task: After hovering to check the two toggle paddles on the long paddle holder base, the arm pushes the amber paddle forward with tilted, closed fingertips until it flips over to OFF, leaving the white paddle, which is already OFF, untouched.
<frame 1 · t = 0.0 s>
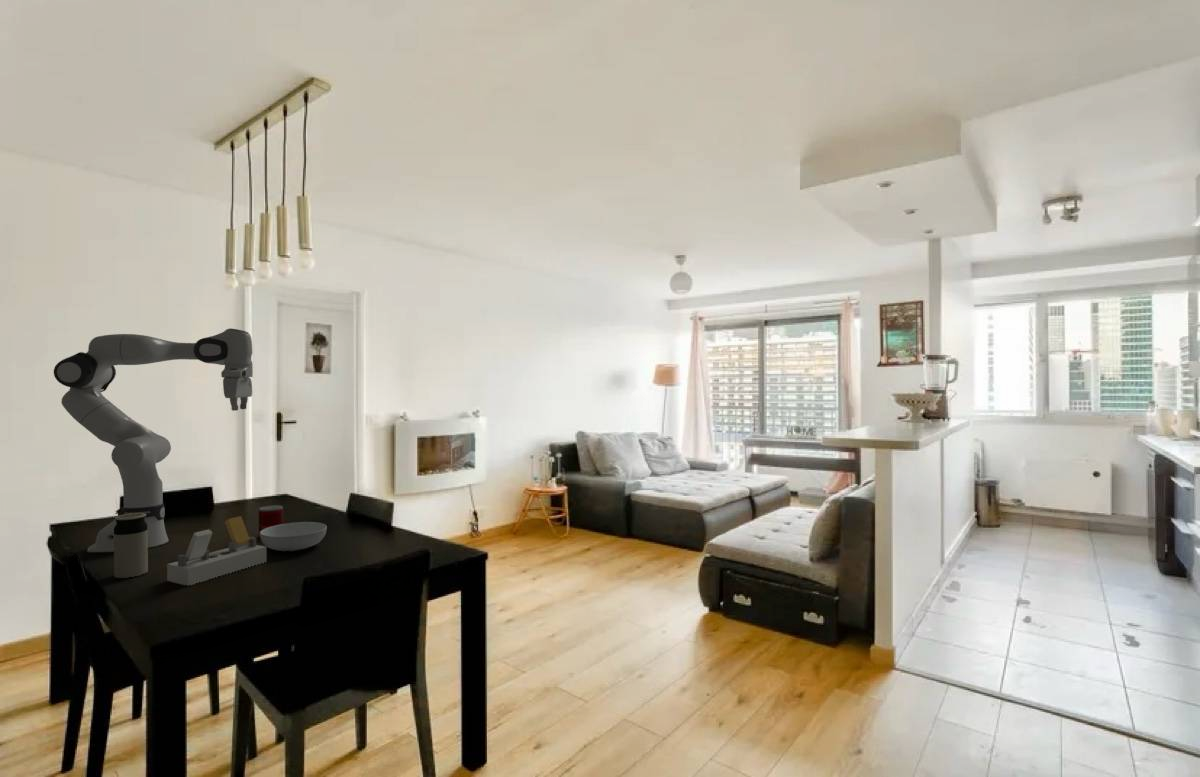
hand: (239, 409, 217), 48 cm above the table, tool pointing down, fingers open, 8 cm apart
serving bowl: (294, 548, 206), on the table
travel mug: (131, 575, 177), on the table
canned food: (271, 536, 221), on the table
long paddle holder base: (219, 571, 180), on the table
white paddle: (198, 546, 173), point 10 cm above the table, hinge at 30.0°
amber paddle: (238, 532, 188), point 10 cm above the table, hinge at -30.0°
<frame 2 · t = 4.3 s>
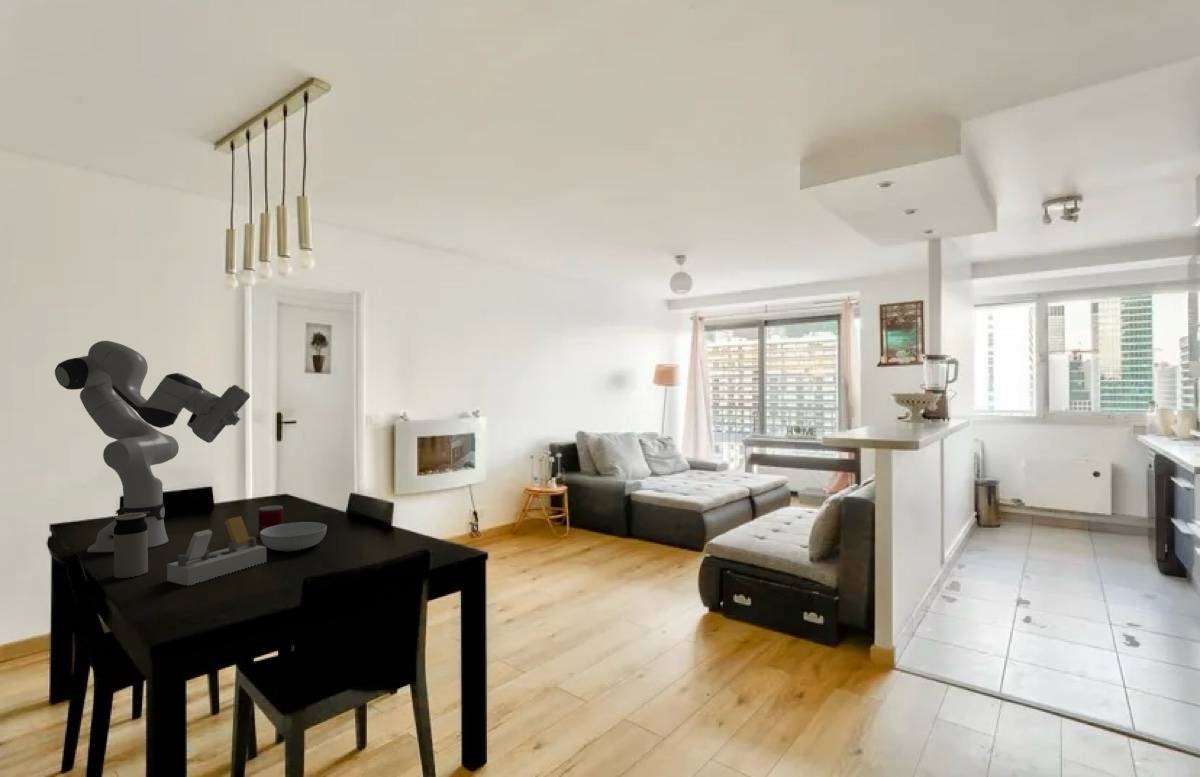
hand: (236, 421, 193), 45 cm above the table, tool tilted 75°, fingers closed
nothing on the table moved.
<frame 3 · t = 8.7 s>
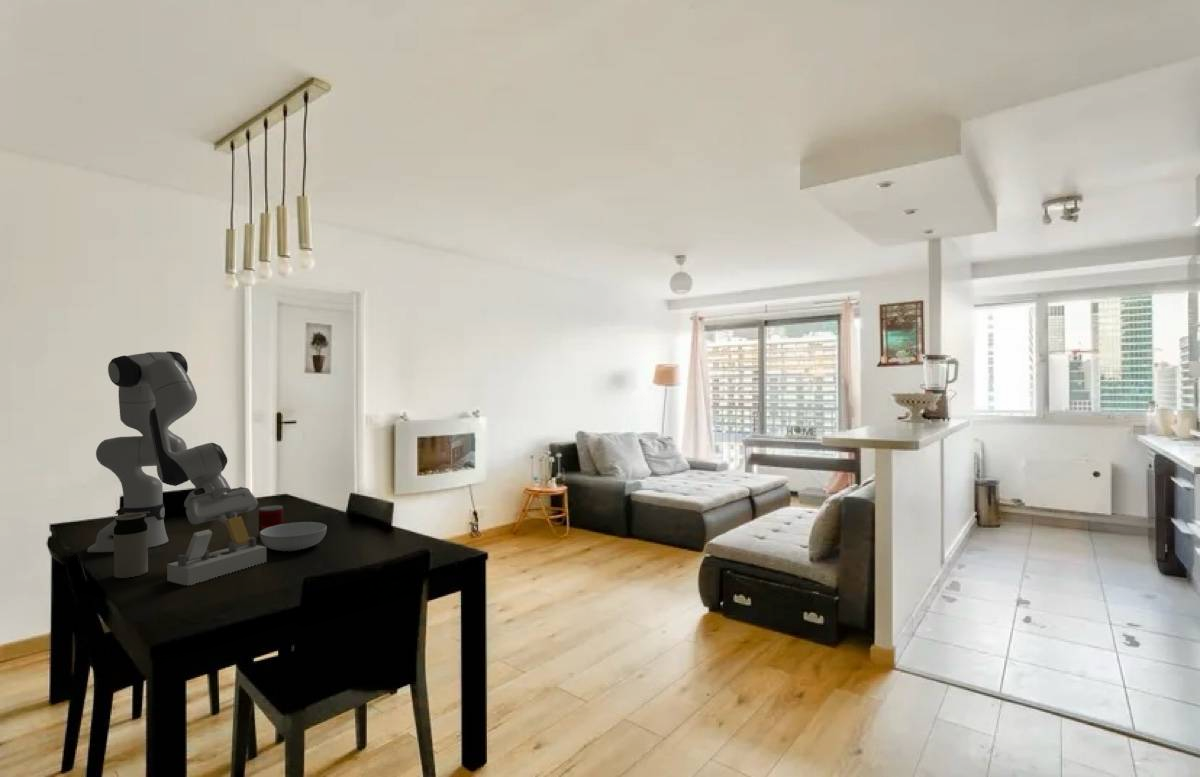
hand: (233, 525, 190), 12 cm above the table, tool tilted 45°, fingers closed, pressing on amber paddle
amber paddle: (238, 532, 188), point 10 cm above the table, hinge at -29.5°, touching gripper
everything else where it was.
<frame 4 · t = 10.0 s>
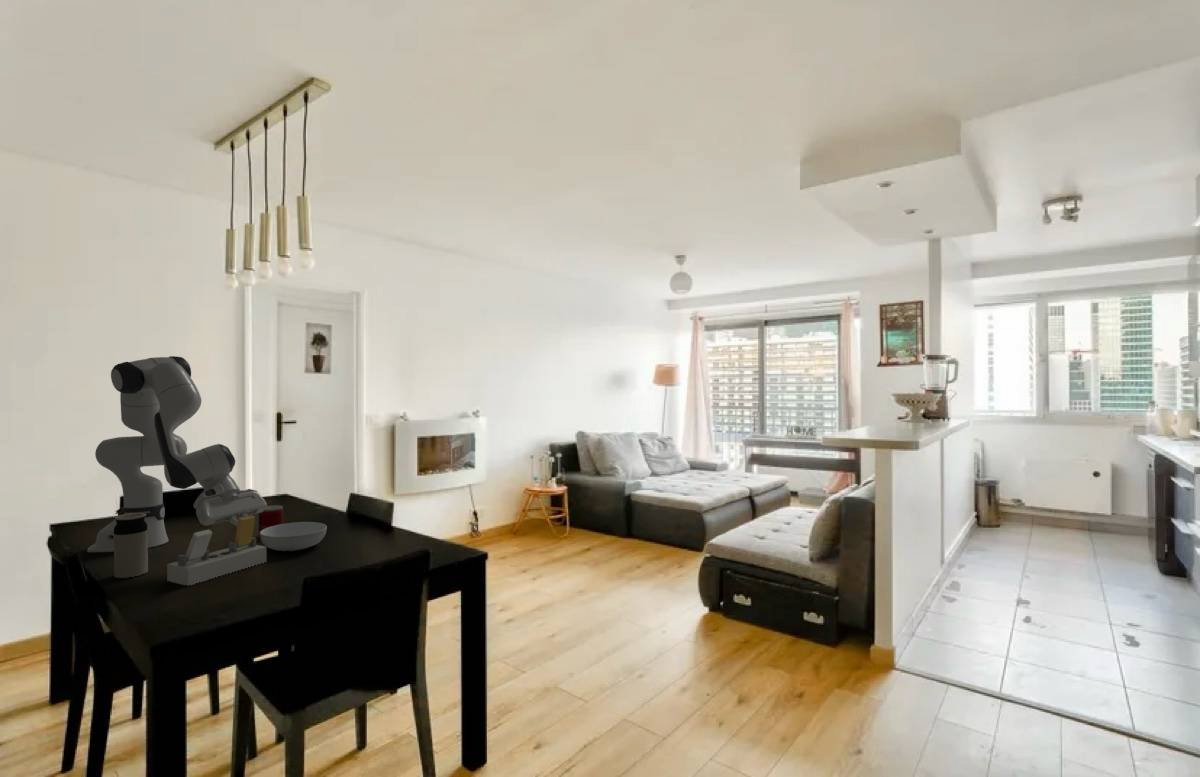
hand: (244, 527, 188), 12 cm above the table, tool tilted 45°, fingers closed, pressing on amber paddle
amber paddle: (244, 532, 187), point 10 cm above the table, hinge at 14.0°, touching gripper
everything else where it was.
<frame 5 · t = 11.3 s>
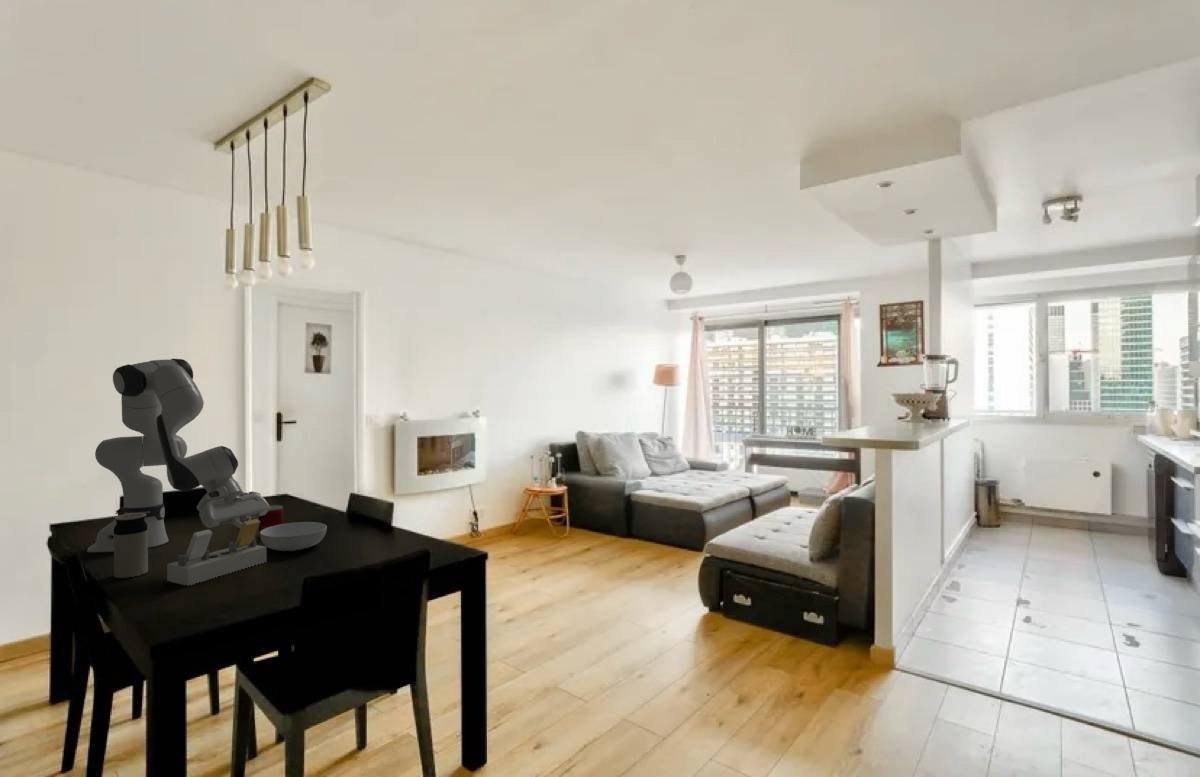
hand: (247, 529, 187), 11 cm above the table, tool tilted 45°, fingers closed, pressing on amber paddle
amber paddle: (247, 534, 186), point 10 cm above the table, hinge at 30.7°, touching gripper
everything else where it was.
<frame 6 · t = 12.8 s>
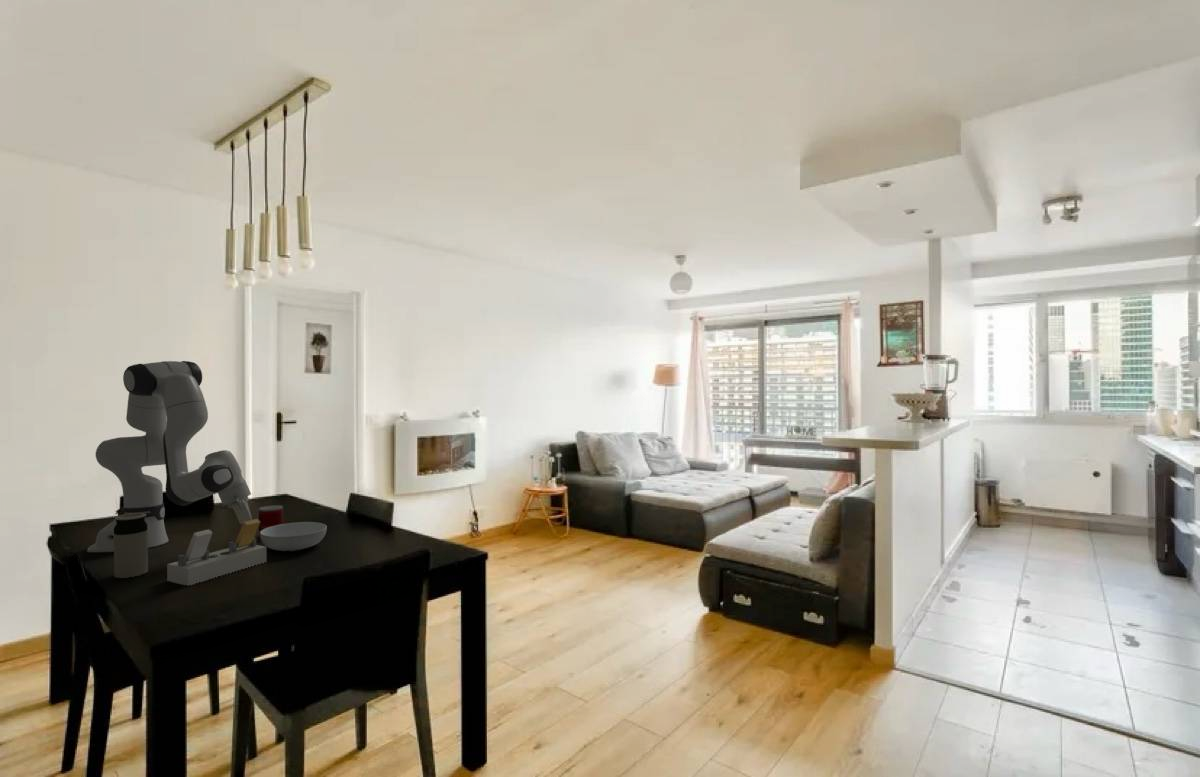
hand: (251, 531, 203), 6 cm above the table, tool tilted 20°, fingers closed
amber paddle: (247, 534, 186), point 10 cm above the table, hinge at 30.8°
everything else where it was.
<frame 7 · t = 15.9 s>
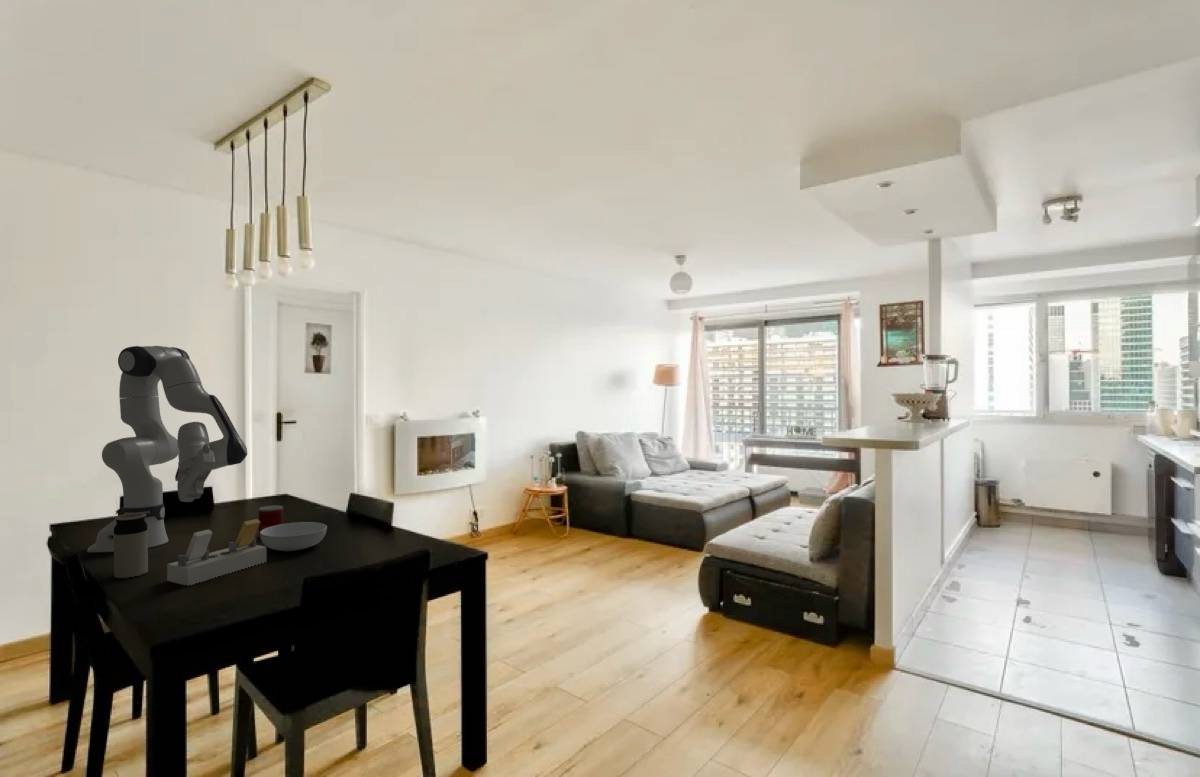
hand: (198, 495, 185), 23 cm above the table, tool tilted 45°, fingers closed
nothing on the table moved.
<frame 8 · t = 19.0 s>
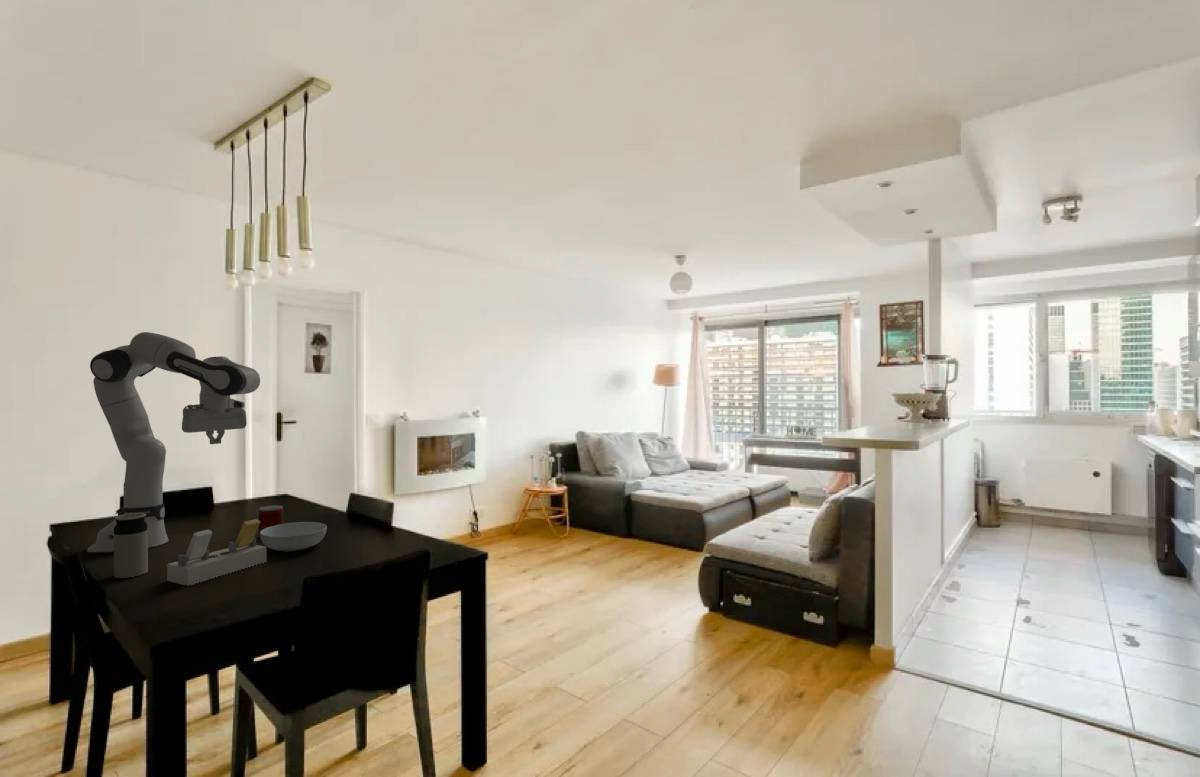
hand: (215, 443, 201), 37 cm above the table, tool pointing down, fingers closed
nothing on the table moved.
at the end: amber paddle at +31° (first picture: -30°); white paddle at +30° (first picture: +30°) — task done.
